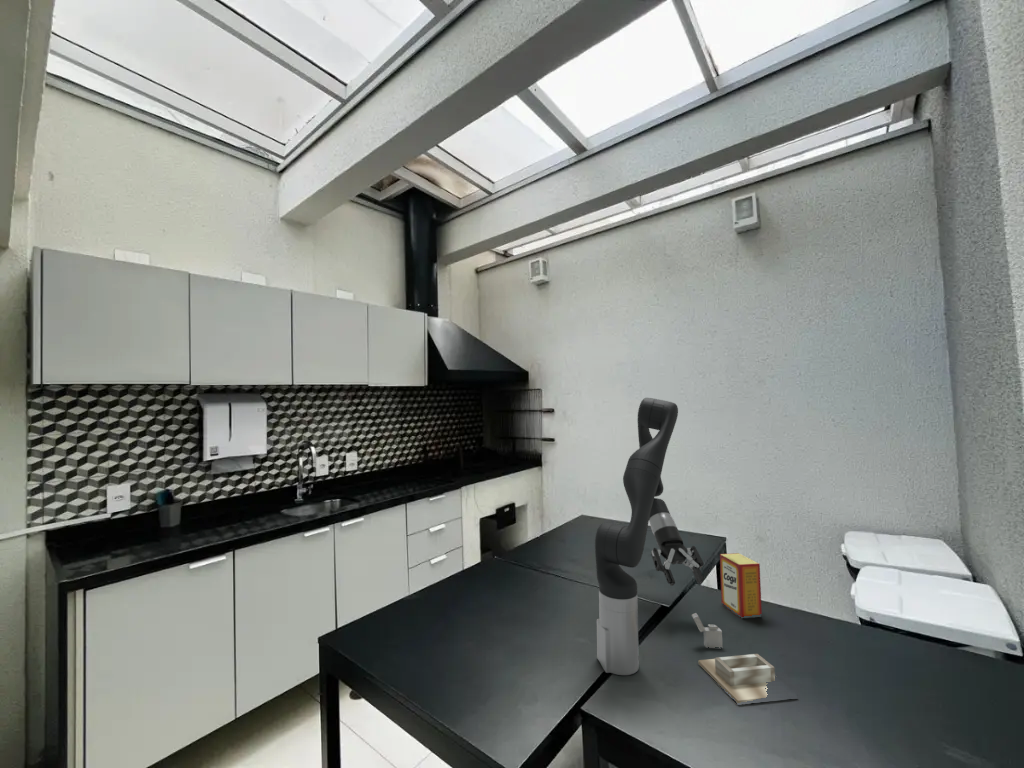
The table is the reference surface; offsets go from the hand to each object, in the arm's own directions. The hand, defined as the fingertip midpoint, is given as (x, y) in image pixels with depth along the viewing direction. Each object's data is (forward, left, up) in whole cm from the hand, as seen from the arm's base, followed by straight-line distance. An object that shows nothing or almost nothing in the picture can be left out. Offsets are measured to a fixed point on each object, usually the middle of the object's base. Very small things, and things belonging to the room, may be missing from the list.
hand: (687, 583), depth 116 cm
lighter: (0, -9, -13) cm, 15 cm away
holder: (0, -23, -12) cm, 26 cm away
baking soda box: (+22, +7, -13) cm, 26 cm away
